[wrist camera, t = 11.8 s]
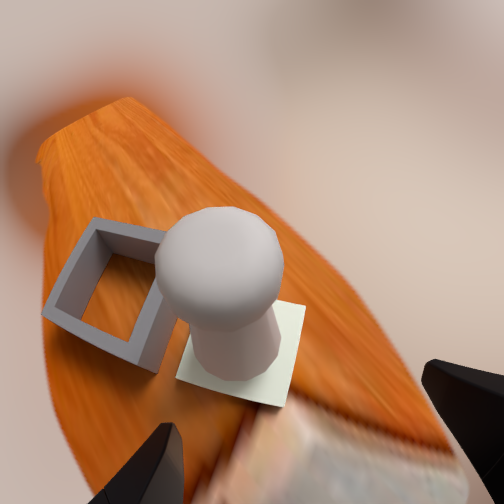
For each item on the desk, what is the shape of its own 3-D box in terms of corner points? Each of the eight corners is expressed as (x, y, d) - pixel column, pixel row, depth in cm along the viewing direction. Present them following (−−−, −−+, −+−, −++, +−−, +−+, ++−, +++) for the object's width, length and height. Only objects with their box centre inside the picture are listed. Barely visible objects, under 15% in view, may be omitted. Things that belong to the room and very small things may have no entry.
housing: (157, 373, 19) (137, 364, 15) (66, 330, 20) (40, 314, 17) (198, 262, 24) (189, 236, 21) (109, 241, 25) (93, 216, 22)
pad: (282, 407, 17) (284, 407, 16) (178, 379, 18) (175, 377, 18) (304, 310, 21) (306, 306, 21) (209, 289, 23) (207, 283, 22)
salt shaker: (185, 361, 18) (90, 281, 7) (220, 298, 21) (186, 164, 10) (258, 397, 17) (263, 378, 6) (290, 328, 20) (333, 210, 9)
